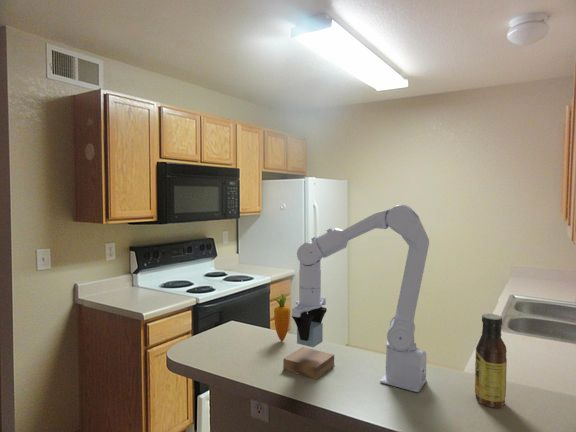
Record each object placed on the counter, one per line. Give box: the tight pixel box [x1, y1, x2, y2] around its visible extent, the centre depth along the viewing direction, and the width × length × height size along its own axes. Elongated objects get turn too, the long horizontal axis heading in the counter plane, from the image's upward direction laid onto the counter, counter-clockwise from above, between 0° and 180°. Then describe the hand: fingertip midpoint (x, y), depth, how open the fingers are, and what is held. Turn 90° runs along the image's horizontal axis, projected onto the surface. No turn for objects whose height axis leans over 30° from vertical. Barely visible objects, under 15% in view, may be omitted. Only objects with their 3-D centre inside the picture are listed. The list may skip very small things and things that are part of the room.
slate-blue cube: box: [296, 321, 324, 348], centre depth 108 cm, size 5×5×5 cm
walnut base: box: [283, 346, 335, 380], centre depth 108 cm, size 10×10×3 cm
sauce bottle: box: [474, 313, 508, 409], centre depth 90 cm, size 6×6×20 cm
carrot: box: [273, 293, 291, 342], centre depth 127 cm, size 5×5×15 cm
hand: (309, 336), depth 108 cm, fingers closed on slate-blue cube, 5 cm apart
